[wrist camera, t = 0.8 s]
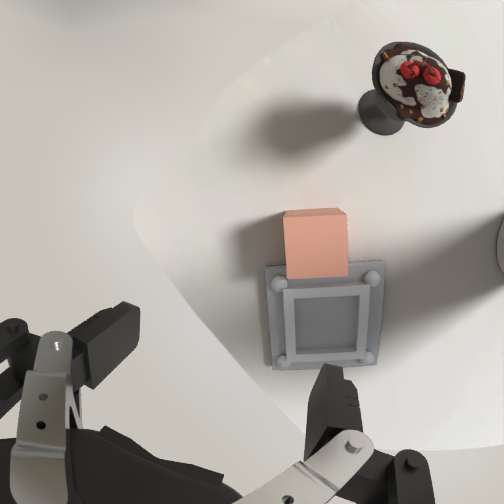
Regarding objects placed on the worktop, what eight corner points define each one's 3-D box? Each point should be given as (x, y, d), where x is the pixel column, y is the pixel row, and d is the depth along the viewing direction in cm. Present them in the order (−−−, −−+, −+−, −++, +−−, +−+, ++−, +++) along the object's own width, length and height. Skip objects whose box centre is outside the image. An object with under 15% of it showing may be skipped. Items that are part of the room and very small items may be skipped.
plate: (381, 260, 28) (387, 266, 26) (374, 359, 31) (378, 369, 28) (266, 266, 30) (263, 272, 28) (273, 363, 33) (271, 374, 31)
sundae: (337, 116, 25) (369, 55, 11) (371, 70, 23) (418, -8, 9) (391, 157, 25) (469, 139, 11) (422, 110, 23) (503, 65, 9)
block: (337, 207, 28) (346, 214, 22) (339, 257, 29) (347, 276, 23) (286, 210, 29) (282, 217, 23) (290, 260, 30) (287, 279, 24)
